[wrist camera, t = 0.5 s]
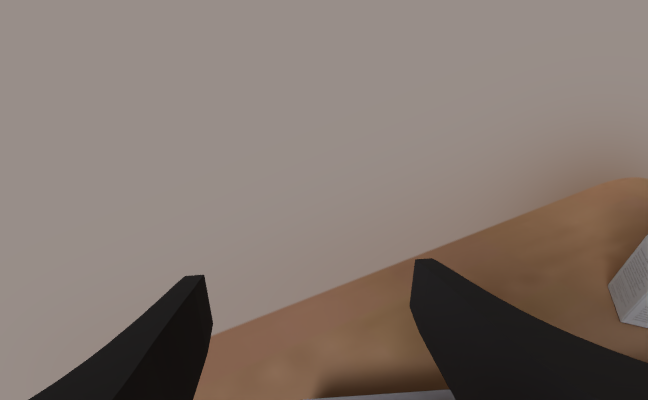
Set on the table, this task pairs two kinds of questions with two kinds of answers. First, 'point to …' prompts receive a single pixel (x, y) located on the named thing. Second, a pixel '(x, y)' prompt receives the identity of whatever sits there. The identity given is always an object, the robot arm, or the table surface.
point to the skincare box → (632, 288)
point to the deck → (401, 396)
